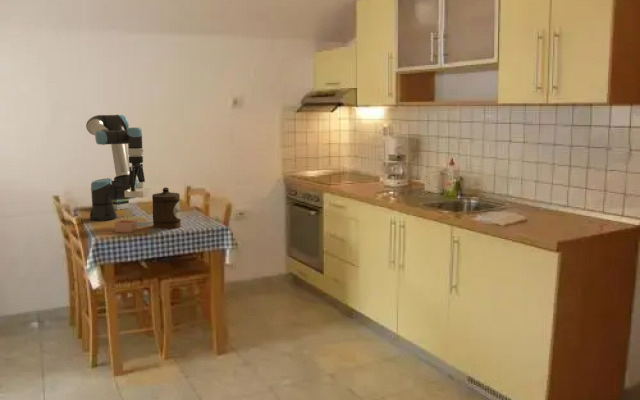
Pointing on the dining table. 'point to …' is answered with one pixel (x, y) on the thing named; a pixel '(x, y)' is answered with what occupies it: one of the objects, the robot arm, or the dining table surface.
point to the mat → (143, 224)
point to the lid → (138, 192)
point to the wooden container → (166, 210)
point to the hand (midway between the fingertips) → (137, 195)
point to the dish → (126, 226)
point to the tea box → (121, 204)
